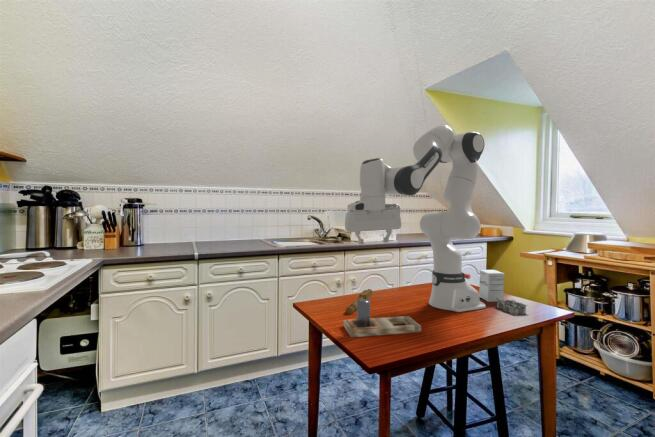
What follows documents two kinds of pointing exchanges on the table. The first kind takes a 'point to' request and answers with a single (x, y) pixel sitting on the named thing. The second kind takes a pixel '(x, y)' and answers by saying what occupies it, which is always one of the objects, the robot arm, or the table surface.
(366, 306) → the steel peg
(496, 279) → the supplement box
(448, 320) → the table surface
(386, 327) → the beige flat frame
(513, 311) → the egg carton
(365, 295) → the turned wooden spindle
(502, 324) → the table surface
